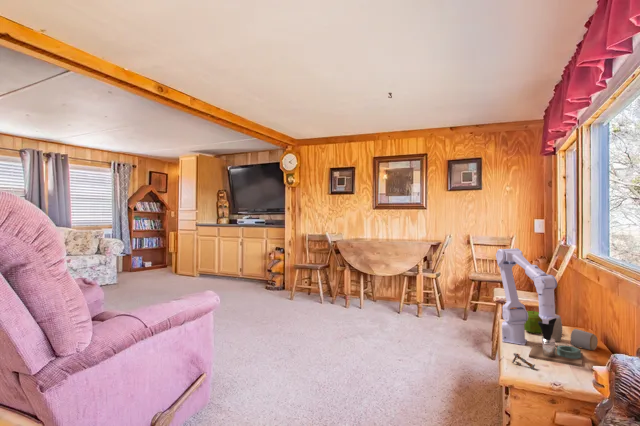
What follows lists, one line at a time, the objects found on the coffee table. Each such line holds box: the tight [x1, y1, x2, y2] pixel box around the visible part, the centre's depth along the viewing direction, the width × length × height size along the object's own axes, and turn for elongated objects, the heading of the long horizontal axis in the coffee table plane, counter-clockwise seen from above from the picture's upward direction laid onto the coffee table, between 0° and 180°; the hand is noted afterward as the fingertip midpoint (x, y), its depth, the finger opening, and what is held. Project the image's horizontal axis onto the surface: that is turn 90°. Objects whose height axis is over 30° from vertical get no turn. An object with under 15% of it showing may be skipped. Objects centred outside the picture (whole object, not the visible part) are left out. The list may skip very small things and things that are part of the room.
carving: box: [551, 313, 563, 343], centre depth 170 cm, size 6×8×12 cm
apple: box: [524, 310, 543, 335], centre depth 182 cm, size 11×11×11 cm
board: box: [528, 345, 584, 367], centre depth 150 cm, size 18×14×4 cm
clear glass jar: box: [541, 337, 556, 358], centre depth 149 cm, size 4×4×7 cm
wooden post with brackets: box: [511, 352, 536, 370], centre depth 142 cm, size 2×8×4 cm, turn 41°
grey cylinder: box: [570, 328, 599, 351], centre depth 159 cm, size 11×8×8 cm
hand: (548, 337), depth 149 cm, fingers open, 7 cm apart
